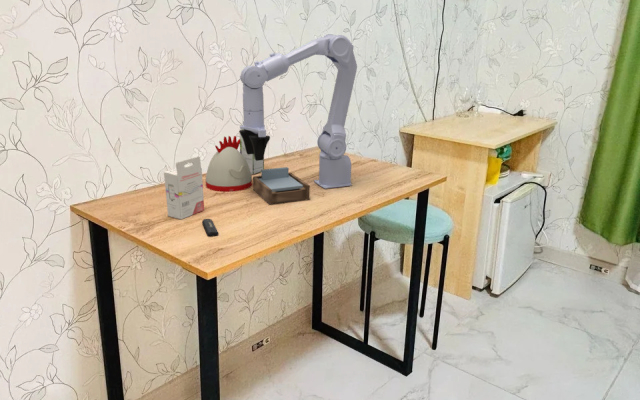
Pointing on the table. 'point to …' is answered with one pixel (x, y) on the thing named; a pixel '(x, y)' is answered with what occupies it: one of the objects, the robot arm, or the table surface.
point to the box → (281, 192)
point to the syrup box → (251, 159)
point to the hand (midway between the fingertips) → (254, 156)
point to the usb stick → (210, 227)
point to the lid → (279, 179)
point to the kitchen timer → (228, 168)
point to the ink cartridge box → (184, 189)
